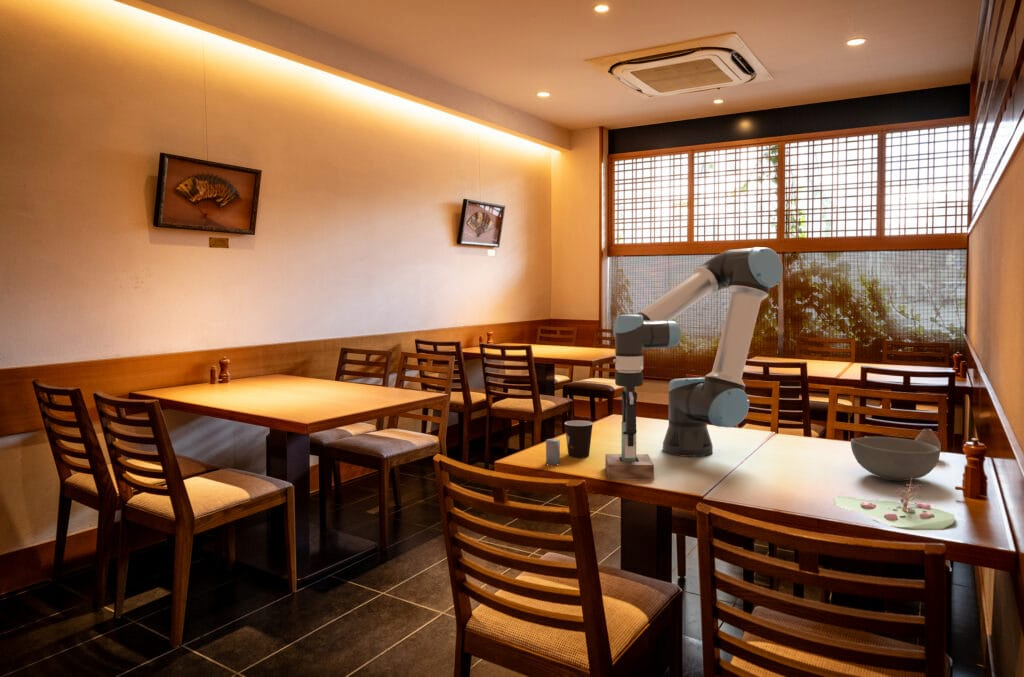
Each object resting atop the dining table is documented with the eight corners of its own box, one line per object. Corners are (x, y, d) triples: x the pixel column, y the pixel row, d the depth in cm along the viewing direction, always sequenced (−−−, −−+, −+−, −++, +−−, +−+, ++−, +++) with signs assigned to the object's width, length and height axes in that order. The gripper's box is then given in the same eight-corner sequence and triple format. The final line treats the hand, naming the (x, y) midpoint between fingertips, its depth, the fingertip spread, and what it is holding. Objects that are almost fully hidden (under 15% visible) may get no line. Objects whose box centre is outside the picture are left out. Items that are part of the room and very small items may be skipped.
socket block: (647, 468, 192) (648, 454, 191) (653, 479, 180) (653, 465, 179) (605, 467, 192) (605, 453, 192) (608, 479, 180) (608, 464, 180)
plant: (817, 514, 153) (817, 475, 152) (842, 493, 168) (843, 457, 168) (947, 540, 136) (948, 496, 136) (962, 514, 152) (963, 474, 151)
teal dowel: (635, 471, 188) (635, 422, 187) (636, 475, 184) (637, 425, 183) (620, 471, 188) (620, 422, 187) (622, 475, 184) (622, 425, 183)
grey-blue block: (559, 462, 199) (559, 438, 199) (559, 465, 195) (559, 441, 195) (546, 462, 200) (546, 438, 199) (546, 465, 196) (545, 441, 195)
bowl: (939, 494, 164) (940, 454, 164) (846, 482, 175) (847, 444, 174) (938, 475, 181) (939, 438, 181) (853, 465, 192) (854, 430, 191)
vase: (938, 457, 200) (939, 428, 200) (942, 462, 194) (943, 432, 194) (911, 455, 203) (912, 426, 203) (914, 460, 197) (915, 430, 196)
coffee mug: (591, 459, 202) (591, 426, 202) (562, 458, 204) (562, 425, 203) (594, 450, 214) (594, 419, 213) (567, 449, 215) (567, 418, 215)
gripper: (612, 367, 194) (612, 446, 195) (618, 375, 175) (618, 463, 177) (638, 367, 193) (638, 446, 195) (647, 375, 174) (647, 463, 176)
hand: (628, 454), depth 186 cm, fingers open, 6 cm apart
